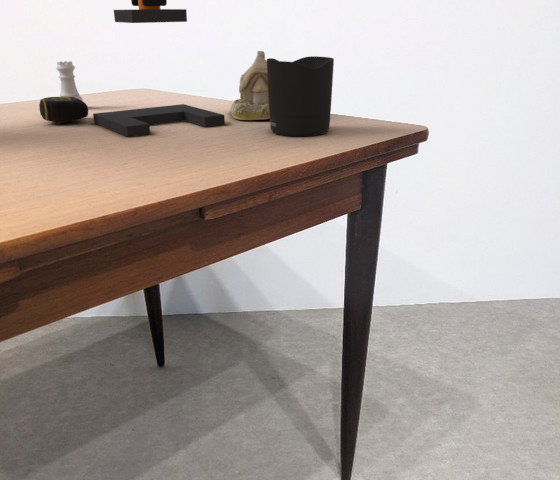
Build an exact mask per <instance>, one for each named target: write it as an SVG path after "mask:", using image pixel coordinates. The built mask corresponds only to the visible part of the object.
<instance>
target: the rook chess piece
mask: <svg viewBox="0 0 560 480" xmlns="http://www.w3.org/2000/svg"><path fill="white" fill-rule="evenodd" d="M56 63H57V65H56V67H55V69H56V70H57V71H58V73H59V75H58V78H59V81H60V94H59V97H75V98H77V99H79V100H81V101H83V97H82V96H81V95H80V93H79V90H78V89H77V85H76V82H75V78H76V75H75V74H74V70H75V69H76V67H75V65H74V63H73V61H71V60H70V61H67V60H65V61H57V62H56ZM83 102H84V101H83Z"/></svg>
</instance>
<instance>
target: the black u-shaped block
mask: <svg viewBox="0 0 560 480" xmlns="http://www.w3.org/2000/svg"><path fill="white" fill-rule="evenodd" d="M92 117H93V123H94V124H95V125H98V126H100V127H103V128H105V129H106V130H107V129H108V130H110V131H112V132H115V133H118V134H120V135H122V136H125V137H127V138H132V137H139V136H146V135H147V136H148V135H151V125H160V124H168V123H178V122H187V123H191V124H195V125H198V126H200V127H204V128H209V127H210V128H211V127H216V126H224V125H225V124H226V122H225V119H226V118H225V114H223V113H222V114H221V113H219V112H215V111H212V110H207V109H203V108H199V107H196V106H193V105H187V104H184V103H182V104H171V105H162V106H153V107H144V108H143V107H142V108H135V109H124V110H115V111H105V112H94V113H93V114H92Z"/></svg>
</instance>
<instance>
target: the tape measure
mask: <svg viewBox="0 0 560 480" xmlns="http://www.w3.org/2000/svg"><path fill="white" fill-rule="evenodd" d="M38 105H39V106H38V107H39V114H40V116H41V118H42V119H43V120H44V121H47V122H53V123H54V124H56V125H60V124H62V123H66V122H73V121H74V122H76V121H78V120H81V119H85V118H87V117H88V115H89V107H88V105H87V104H86V102H85V101H81V100H79V99H77V98H75V97H60V96H47V97H43V98H41V99H40V101H39V103H38Z"/></svg>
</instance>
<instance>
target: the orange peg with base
mask: <svg viewBox="0 0 560 480" xmlns="http://www.w3.org/2000/svg"><path fill="white" fill-rule="evenodd" d="M138 5H139V6H138V9H137V8H136V9H113V16H114V22H115V23H128V24H146V23H148V24H150V23H151V24H152V23H153V24H154V23H186V22H188V16H187V15H188V13H187V9H186V8H165V9H164V8H161V6H144V5H143V4H142V0H138Z"/></svg>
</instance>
